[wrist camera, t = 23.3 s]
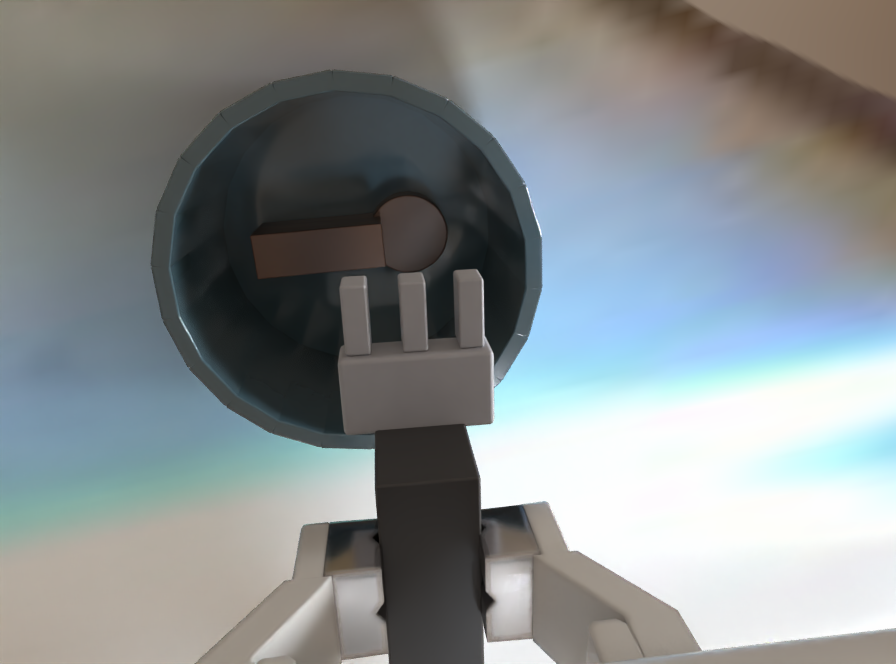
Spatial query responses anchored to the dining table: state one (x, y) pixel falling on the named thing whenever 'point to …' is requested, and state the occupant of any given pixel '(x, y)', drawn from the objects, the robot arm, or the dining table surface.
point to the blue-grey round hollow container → (327, 195)
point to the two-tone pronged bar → (423, 462)
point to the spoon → (354, 240)
